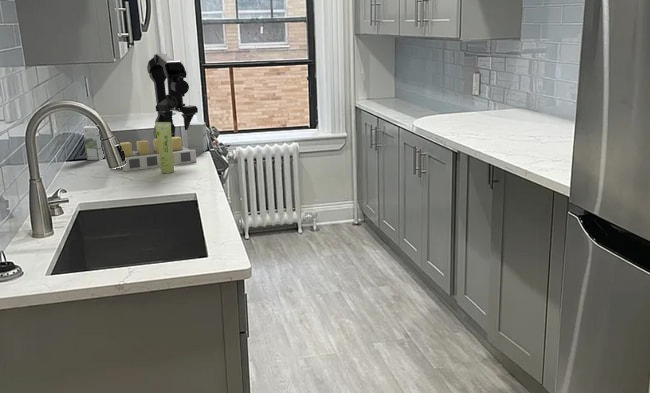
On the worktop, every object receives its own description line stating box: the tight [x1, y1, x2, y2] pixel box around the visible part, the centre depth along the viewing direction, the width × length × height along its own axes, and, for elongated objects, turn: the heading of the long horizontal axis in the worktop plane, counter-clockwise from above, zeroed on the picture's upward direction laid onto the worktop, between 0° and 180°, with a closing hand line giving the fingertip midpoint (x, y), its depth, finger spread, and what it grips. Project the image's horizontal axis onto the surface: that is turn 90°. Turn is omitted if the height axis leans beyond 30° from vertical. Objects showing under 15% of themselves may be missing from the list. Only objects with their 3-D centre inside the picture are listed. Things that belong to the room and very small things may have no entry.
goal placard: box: [122, 150, 197, 172], centre depth 248 cm, size 1×30×5 cm, turn 121°
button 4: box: [119, 141, 133, 157], centre depth 251 cm, size 4×4×6 cm
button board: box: [120, 145, 190, 170], centre depth 257 cm, size 14×30×4 cm, turn 122°
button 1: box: [172, 136, 183, 151], centre depth 261 cm, size 4×4×6 cm
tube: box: [154, 122, 175, 174], centre depth 236 cm, size 6×5×20 cm
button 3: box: [136, 139, 150, 155], centre depth 254 cm, size 4×4×6 cm
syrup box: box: [82, 125, 105, 161], centre depth 263 cm, size 6×6×14 cm
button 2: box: [152, 138, 159, 153], centre depth 258 cm, size 4×4×6 cm
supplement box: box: [186, 121, 208, 153], centre depth 277 cm, size 7×7×13 cm
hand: (178, 129), depth 258 cm, fingers open, 9 cm apart
